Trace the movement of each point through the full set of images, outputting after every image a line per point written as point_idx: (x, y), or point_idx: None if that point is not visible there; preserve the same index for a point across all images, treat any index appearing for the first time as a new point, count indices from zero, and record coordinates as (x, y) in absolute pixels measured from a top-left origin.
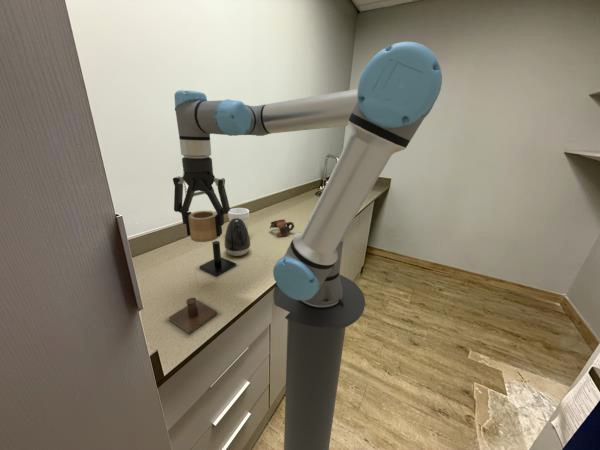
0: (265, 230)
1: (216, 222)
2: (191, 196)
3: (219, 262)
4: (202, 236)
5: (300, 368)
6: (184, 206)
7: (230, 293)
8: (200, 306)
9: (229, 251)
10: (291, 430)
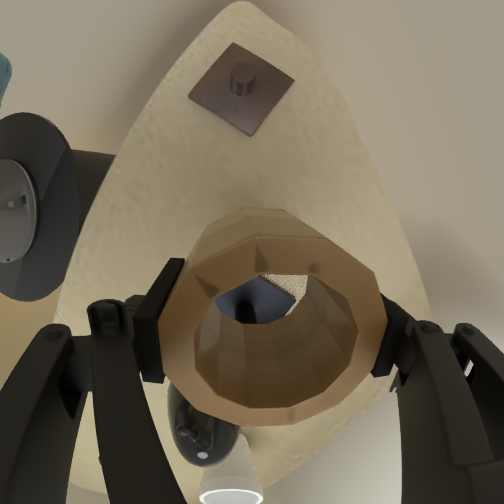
0: (175, 462)
1: (160, 293)
2: (426, 459)
3: (237, 310)
4: (249, 212)
5: (95, 154)
6: (441, 355)
7: (173, 178)
8: (233, 111)
9: None
10: None
